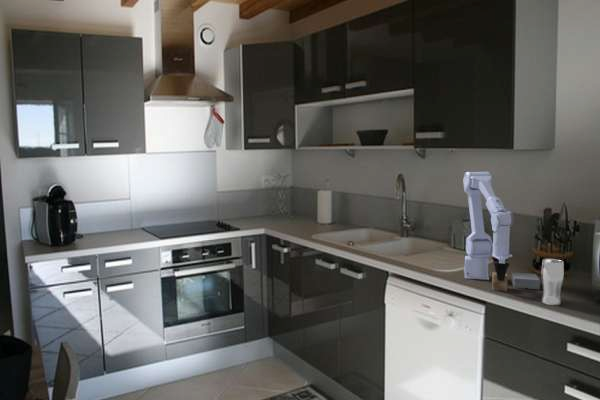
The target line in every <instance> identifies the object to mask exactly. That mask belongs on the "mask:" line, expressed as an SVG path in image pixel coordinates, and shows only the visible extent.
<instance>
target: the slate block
mask: <svg viewBox="0 0 600 400" xmlns="http://www.w3.org/2000/svg"><path fill="white" fill-rule="evenodd" d="M510 281H511V284H512V285H513V288H514V289H525V288H528V289H527V290H529V289H530V290H540V287H541V280H540V278H539V276H538V275H537V273H522V272H520V273H519V272H511V278H510Z"/></svg>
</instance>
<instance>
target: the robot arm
mask: <svg viewBox="0 0 600 400" xmlns="http://www.w3.org/2000/svg"><path fill="white" fill-rule="evenodd" d="M492 178H493V177H492V175H491V173H490V172H489V171H473V172H472V171H466V172H465V173H464V177H463V178H462V179H463V180H462V181H463V183H462V184H463V189H464V193H465V194H467V200H468V202H467V203H468V209H469V218H470V226H471V233H470V234H469V235H468V236H467V237H466V239H465V251H466V254H467V255H465V257H464V268H463V274H464V279H472V280H475V279H476V280H485V281H489V280H490V276H489V273H488V272H489V258H490V257H491V259H492V261H493V262H492V263H493V265H494V270H495V271H494V272H497V279H498V280H499V281H504V278H505V274H506V273H507V270H508V268H509V267H510V264H511V263H510V262H507V261H508V259H509V258H512V257H513V254H510V234H511V233H510V232H511V228H510V227H512V226H513V224H514V216H513V212H512V211H509V210H508V209H506V208H505V206H504V203H503V202H502V200H501V198H500V197H498V196H496V194H495V192H494V190H493V186H492ZM481 195H483V196H484V198H485V200H486V202H485V206H486V207H487V210H488V212H489V214H490V216H491V218H490V222H491V229H492V231H493V233H492V234H493V235H492V237H491V236H490V235H489V234H488V233H487V232H486V231H485V225H484V223H485V222H484V215H483V208H482V206H483V205H482V198H481Z"/></svg>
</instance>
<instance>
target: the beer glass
mask: <svg viewBox="0 0 600 400" xmlns="http://www.w3.org/2000/svg"><path fill="white" fill-rule="evenodd" d="M541 264H542V265H541V271H540V272H541V275H540V276H541V283H542V290H543V291H542V296H541V297H542V298H541V303H542V304H545V305H548V306H559V305H561V304H562V303H561V288H562V286H563V281H564V275H565V273H564V271H565V269H564V266H565V264H564V261H563V260H562V259H561V260H560V259H557V258H556V259H555V258H544V259H542V263H541Z"/></svg>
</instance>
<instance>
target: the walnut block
mask: <svg viewBox="0 0 600 400" xmlns="http://www.w3.org/2000/svg"><path fill="white" fill-rule="evenodd" d="M491 277H492V278H491V279H492V280H491V288H492V291H497V292H508V274H507V272H506V274H505V278H504V281H499V280H498V279H497V272H496V271H492V276H491Z"/></svg>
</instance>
